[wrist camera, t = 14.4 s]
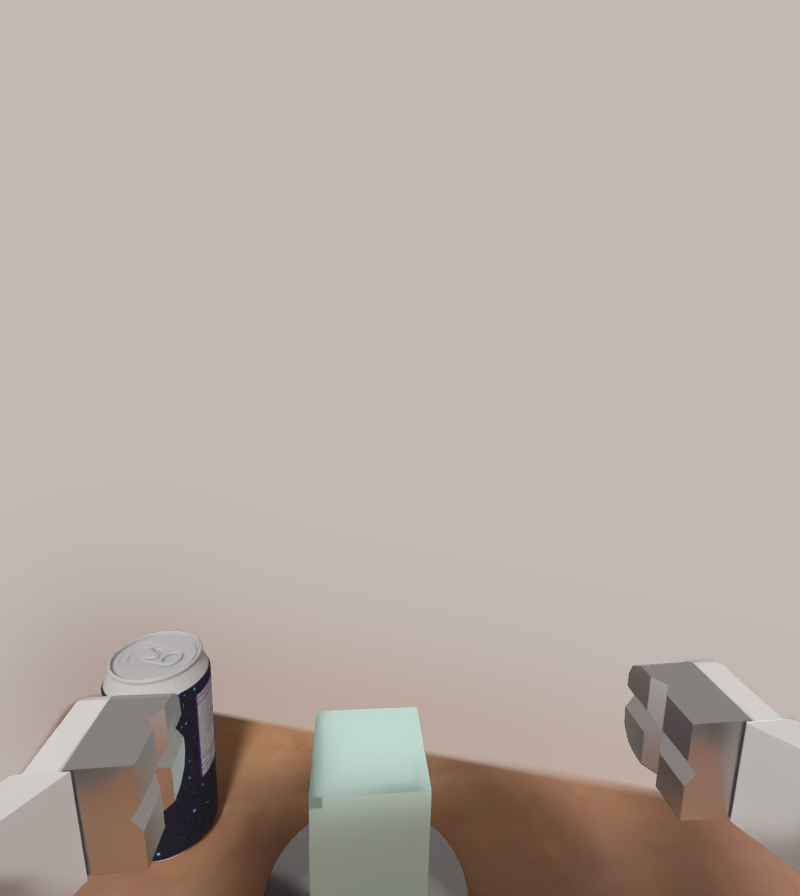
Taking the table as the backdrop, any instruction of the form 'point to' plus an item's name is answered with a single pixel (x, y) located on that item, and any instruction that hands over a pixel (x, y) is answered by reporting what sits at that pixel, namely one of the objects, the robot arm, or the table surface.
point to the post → (292, 868)
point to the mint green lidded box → (369, 804)
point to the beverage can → (188, 676)
